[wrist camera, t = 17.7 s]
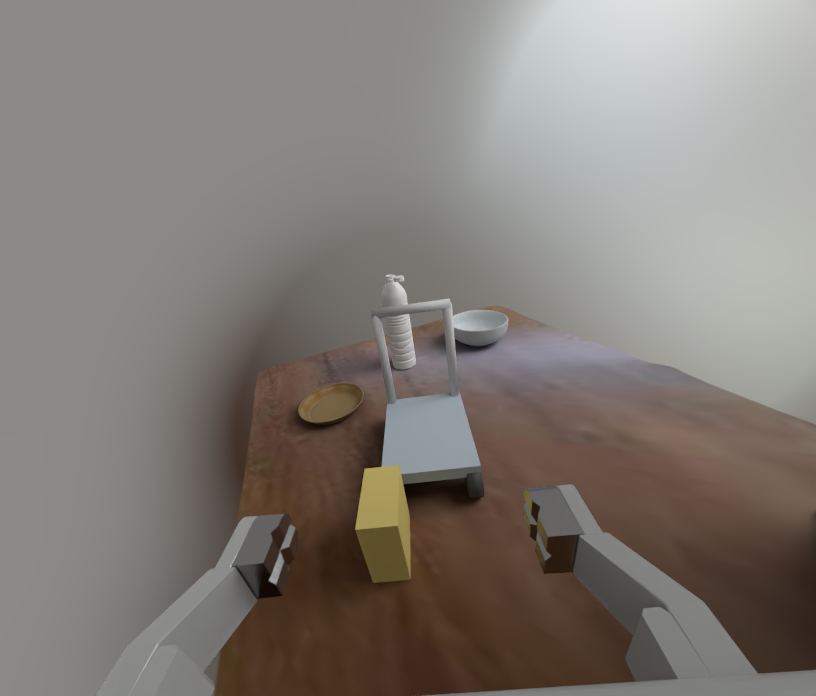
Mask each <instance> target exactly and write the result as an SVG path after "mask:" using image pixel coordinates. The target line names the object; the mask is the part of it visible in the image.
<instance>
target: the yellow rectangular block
mask: <svg viewBox="0 0 816 696" xmlns="http://www.w3.org/2000/svg"><path fill="white" fill-rule="evenodd" d="M355 531H356V534H357V537H358V540H359V543H360V546H361V549H362V552H363V555H364V558H365V561H366V564H367V567H368V570H369V573H370V575H371V578H372V581H373V583H379V582H391V581H402V580H411V571H410V515H409V510H408V505H407V500H406V495H405V491H404V486H403V481H402V476H401V471H400V466H399V465H395V466H385V467H376V468H367V469H364V476H363V482H362V489H361V495H360V502H359V508H358V514H357V521H356V527H355Z"/></svg>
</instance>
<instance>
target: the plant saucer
mask: <svg viewBox="0 0 816 696" xmlns="http://www.w3.org/2000/svg"><path fill="white" fill-rule="evenodd" d="M363 396H364V393H363V390H362V389H361V388H360V387H359V386H358V385H355V384H352V383H336V384H331V385H327V386H324V387H322V388H320V389H317V390H315V391H314V392H312V393H311V394H309V395H308V396H307V397H306V398H304V400H303V401H302V402H301V404H300V405H299V408H298V413H299V415H300V417H301V418H302V419H304V420H305V421H307V422H310V423H313V424H319V425H329V424H334V423H337V422H340V421H342V420H344V419H346V418H348V417H349V416H350V415H351V414H353V413H354V412H355V410H356V409H357V408H358V407H359V405H360V404H361V402H362V400H363Z"/></svg>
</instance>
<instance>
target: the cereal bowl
mask: <svg viewBox="0 0 816 696" xmlns="http://www.w3.org/2000/svg"><path fill="white" fill-rule="evenodd" d="M453 325H454V338H455V339H456V340H458V341H460V342H462V343H464V344H468V345H471V346H485V345H488V344H491V343H494V342H496V341H498V340H500V339H501V338H502V337H503V336H504V334H505V333H506V331H507V327H508V317H507V316H506V315H504V314H502V313H500V312H496V311H491V310H472V311H466V312H462V313H459V314H456V315H455V316H453Z"/></svg>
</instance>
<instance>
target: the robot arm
mask: <svg viewBox="0 0 816 696" xmlns="http://www.w3.org/2000/svg"><path fill="white" fill-rule="evenodd" d="M524 498H525V500H526V504H525V505H524V518H525V523H526V526H527V530H528V532H529V535H530V537H531V538H532V539H533V540H535V541H536V550H535V551H536V554H537V556H538V559H539V561H540V564H541V567H542V569H543V572H544V574H548V573H566V572H573V575H574V576H575V577H576V578H577V579H578V580H579V581H580V582H581V583H582V584H583V585H584V586H585V587H586V588H587V589H588V590H589V591H590V592H591V593H592V594H593V595H594V596H595V597H596V598H597V599H598V600H599V601H600V602H601V603H602V604H603V605H604V607H605V608H606V609H607V610H608V611H609V612H610V613H611V614H612V615H613V616H614V617H615V618H616V619H617V620H618V621H619V622H620V623H621V624H622V625H623V626H624V627H625V628H626V629H627V630H628V631H629V632H630V633H631V634H632V635H633V638H632V641H631V643H630V646H629V649H628V651H627V654H626V657H625V660H626V662H627V665H628V667H629V669H630V671H631V673H632V675H633V677H634V679H635V681H636V682H623V683H607V684H592V685H577V686H562V687H546V688H531V689H516V690H501V691H485V692H470V693H455V694H439V695H424V696H816V670H806V671H791V672H775V673H760V674H758V673H757V672H756V670H755V669H754V668H753V666H752V665H751V664H750V662H749V661H748V660H747V658H746V657H745V656H744V654H743V653H742V652H741V650H740V649H739V648H738V646H737V645H736V644H735V642H734V641H733V640H732V639H731V637H730V636H729V635H728V633H727V632H726V631H725V629H724V628H723V627H722V625H721V624H720V623H719V621H718V620H717V619H716V617H715V616H714V615H713V613H712V612H711V611H710V609H709V608H708V607H707V605H706V604H705V603H704V602H703V601H702V600H700V599H699V598H698V597H696V596H695V595H693V594H692V593H691V592H689V591H688V590H687V589H685V588H684V587H682V586H681V585H680V584H678V583H677V582H675V581H674V580H673V579H671V578H670V577H669V576H667V575H666V574H664V573H663V572H662V571H660V570H659V569H658V568H656V567H655V566H653V565H652V564H651V563H649V562H648V561H646V560H645V559H644V558H642V557H641V556H640V555H638V554H637V553H635V552H634V551H633V550H631V549H630V548H629V547H627V546H626V545H624V544H623V543H622V542H620V541H619V540H617V539H616V538H615V537H613V536H612V535H611V534H609V533H603V532H602V531H601V529H600V527H599V526H598V524H597V522H596V521H595V519H594V517H593V516H592V514H591V513H590V511H589V509H588V508H587V506H586V504H585V503H584V501H583V499H582V498H581V496H580V495H579V493H578V491H577V490H576V488H575V487H574V486H573V485H572V484H568V485H560V486H547V487H538V488H530V489H525V491H524ZM291 520H292V519H291V518H290V516H289V514H276V515H263V516H251V517H244V518H243V519H242V520H241V521H240V522H239V524H238V525H237V527H236V529H235V531H234V533H233V535H232V537H231V539H230V541H229V543H228V544H227V546H226V548H225V550H224V552H223V554H222V556H221V558H220V559H219V561H218V563H217V565H216V567H215V568H214V569H210V570H209V571H208V572H207V573H205V574H204V575H203V576H202V577H201V578H200V579H199V580H198V581H197V582H196V583H195V584H194V585H193V586H191V587H190V588H189V589H188V590H187V591H186V592H185V593H184V594H183V595H182V596H181V597H180V598H179V599H177V600H176V601H175V602H174V603H173V604H172V605H171V606H170V607H169V608H168V609H167V610H166V611H165V612H163V613H162V614H161V615H160V616H159V617H158V618H157V619H156V620H155V621H154V622H153V623H152V624H151V625H150V626H149V627H147V628H146V629H145V630H144V631H143V632H142V633H141V634H140V635H139V636H138V637H137V638H136V639H134V640H133V641H132V642H131V643H130V644H129V645H128V646H127V647H126V648H125V650H124V652H123V653H122V655H121V656H120V658H119V659H118V661H117V663H116V664H115V666H114V667H113V669H112V671H111V672H110V674H109V675H108V677H107V678H106V680H105V682H104V683H103V685H102V686H101V688H100V689H99V691H98V692H97V694H96V696H212V693H213V691H214V688H215V687H214V683H213V681H212V680H211V679H210V678H209V677H208V676H207V675H206V674H205V673H204V670H205V669H206V668H207V666H208V665H209V664H210V663H211V661H212V660H213V659H214V657H215V656H216V655H217V653H218V652H219V651H220V649H221V648H222V647H223V645H224V644H225V643H226V641H227V640H228V639H229V638H230V636H231V635H232V634H233V632H234V631H235V630H236V628H237V627H238V626H239V624H240V623H241V622H242V620H243V619H244V618H245V617H246V615H247V614H248V613H249V611H250V610H251V609H252V607H253V606H254V605H255V603H256V602H257V599H262V598H271V597H279V596H283V594H284V591H285V588H286V584H287V581H288V578H289V575H290V571H289V567H288V565H289V564H290V563H291V562H292V561H293V560H294V559H295V556H296V553H297V549H298V540H299V539H298V532H297V530H296V528H295V527H293V526H292V525H290V523H291Z"/></svg>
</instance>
